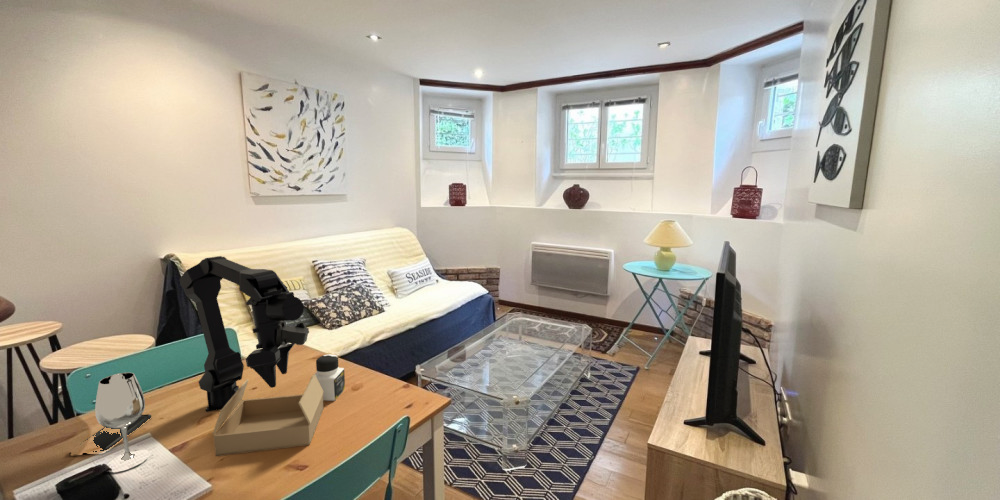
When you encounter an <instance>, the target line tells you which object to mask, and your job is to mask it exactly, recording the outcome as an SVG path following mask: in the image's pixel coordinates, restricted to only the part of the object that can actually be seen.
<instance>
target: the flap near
mask: <svg viewBox="0 0 1000 500" xmlns="http://www.w3.org/2000/svg"><path fill="white" fill-rule="evenodd" d="M248 382H249V379H248V378H247V379H246V380H245V381H244V382H243V383H242V384H241V385H240V387H239V389H238V390H237V392H236V393H235V394H234V395H233V396H232V398H231V399H230V400H229V401H228V402H227V403H226V405H225V406H224V407H223V408H222V409H221V410H219V413H218V417H217V420H216V422H215V426H214V429H213V432H212V435H213V436H214V435H215V434H216V433H217V432H218V430H219V429H220V428H221V426H222V425H223V424H224V423H225V421H226V420H227V419H228V418H229V416H230V415H231V414H232V412H233V411H234V410H235V409H236V407H237V406H238V405H239V403H240V402H241V401H242V400H243V397H244V394H245V391H246V388H247V385H248Z"/></svg>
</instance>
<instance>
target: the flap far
mask: <svg viewBox="0 0 1000 500" xmlns="http://www.w3.org/2000/svg"><path fill="white" fill-rule="evenodd" d="M311 377H312V378H311ZM311 377H310V379H309V382H308V384H307V385H306V388H305V389H304V392H303V395H302V397H301V399H300V401H299V403H298V404H299V406H300V407H301V409H302V411H303V413H304V415H305V417H306V419H307V421H308V423H309V424H311V422H312V419H313V417H314V414H315V412H316V409H317V407H318V404H319V402H320V400H321V397H322V395H323V390H322V388H321V385H320V383H319V381H318V379H317V377H316V375H315V373H313V374H312V376H311Z"/></svg>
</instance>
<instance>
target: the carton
mask: <svg viewBox="0 0 1000 500" xmlns="http://www.w3.org/2000/svg"><path fill="white" fill-rule="evenodd" d="M302 395H303V394H301V393H300V394H292V395H280V396H271V397H269V396H268V397H261V398H250V399H242V400H241V401H240V403H239V404H238V405H237V407H236V408H235V409H234V410H233V412H232V413H231V414H230V415H229V417H228V418H227V419H226V421H225V422H224V423H223V424H222V426H221V427H220V428H219V429H218V431H217V432H216V433H215V435H214V434H213V442H214V444H213V445H214V453H215V455H214V456H215V457H221V456H229V455H238V454H246V453H255V452H261V451H262V452H264V451H271V450H278V449H287V448H295V447H304V446H310V445H311V443H312V441H313V440H312V439H313V438H314V435H315V431H316V430H317V427H318V425H319V421H320V420H321V419H320V418H321V417H322V413H323V411H324V400H323V395H322V397H321V400H320V402H319V404H318V407H317V409H316V412H315V414H314V417H313V419H312V422H311V424H309V423H308V421H307V419H306V417H305V415H304V413H303V411H302V409H301V407H300V406H299V404H298V403H299V401H300V399H301V397H302Z"/></svg>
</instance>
